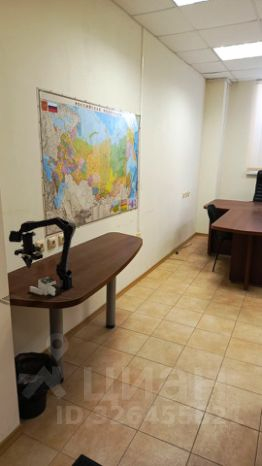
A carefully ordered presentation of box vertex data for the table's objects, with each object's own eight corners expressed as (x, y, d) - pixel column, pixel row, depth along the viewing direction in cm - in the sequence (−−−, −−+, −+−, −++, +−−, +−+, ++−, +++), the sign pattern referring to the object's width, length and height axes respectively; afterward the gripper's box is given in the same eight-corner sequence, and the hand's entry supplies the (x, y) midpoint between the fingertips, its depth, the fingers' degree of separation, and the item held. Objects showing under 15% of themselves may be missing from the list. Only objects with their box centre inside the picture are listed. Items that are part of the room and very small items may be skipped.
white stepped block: (48, 276, 184) (61, 283, 177) (48, 287, 186) (61, 294, 180) (38, 279, 179) (51, 287, 172) (37, 291, 181) (51, 299, 174)
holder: (56, 288, 187) (56, 283, 187) (41, 295, 177) (41, 290, 177) (45, 284, 192) (45, 280, 191) (30, 291, 182) (29, 286, 181)
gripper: (49, 242, 186) (50, 267, 190) (27, 237, 196) (29, 261, 199) (34, 246, 177) (36, 272, 181) (13, 241, 186) (14, 266, 190)
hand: (29, 267), depth 188 cm, fingers closed
